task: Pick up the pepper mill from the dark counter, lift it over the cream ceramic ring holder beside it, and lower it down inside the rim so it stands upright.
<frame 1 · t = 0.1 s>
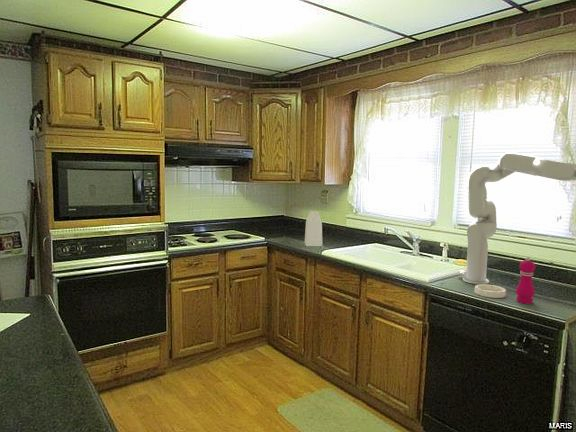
milk: (313, 246, 303), on the countertop
ring holder: (489, 293, 193), on the countertop
pepper mill: (524, 302, 182), on the countertop
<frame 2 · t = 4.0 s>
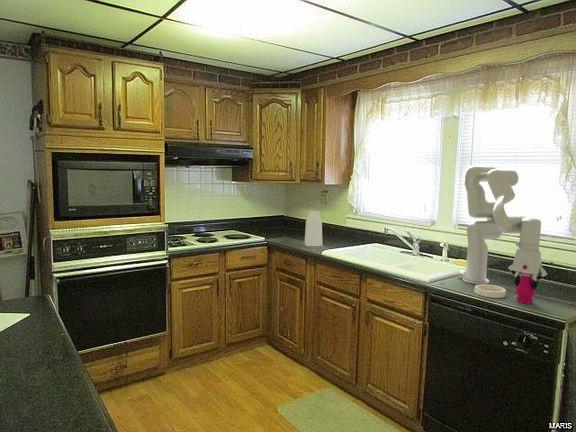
hand: (525, 287, 181), 7 cm above the countertop, tool pointing down, fingers closed on pepper mill, 5 cm apart
pepper mill: (524, 302, 182), on the countertop, touching gripper
everything else where it was.
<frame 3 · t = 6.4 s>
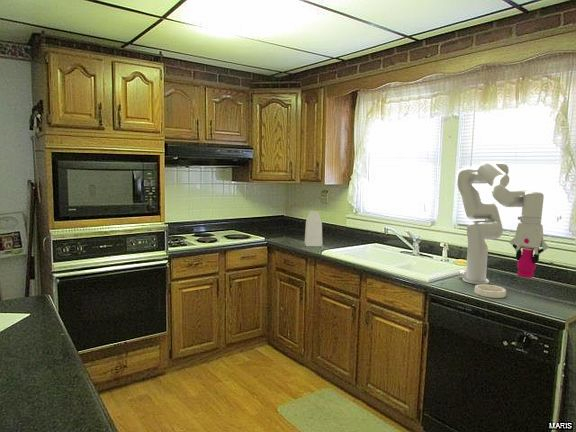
hand: (526, 261, 180), 18 cm above the countertop, tool pointing down, fingers closed on pepper mill, 5 cm apart
pepper mill: (525, 276, 181), point 11 cm above the countertop, touching gripper
everything else where it was.
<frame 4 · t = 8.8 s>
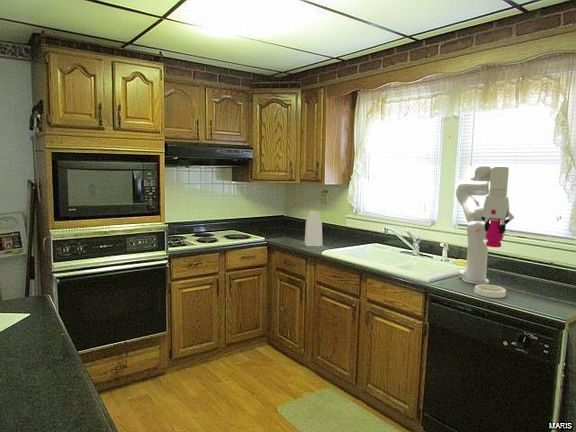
hand: (494, 231, 189), 29 cm above the countertop, tool pointing down, fingers closed on pepper mill, 5 cm apart
pepper mill: (493, 246, 190), point 22 cm above the countertop, touching gripper
everything else where it was.
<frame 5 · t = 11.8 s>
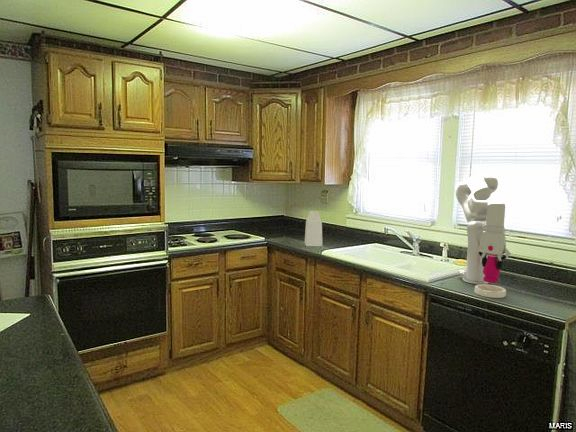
hand: (491, 267, 191), 13 cm above the countertop, tool pointing down, fingers closed on pepper mill, 5 cm apart
pepper mill: (490, 281, 192), point 6 cm above the countertop, touching gripper
everything else where it was.
when the fingers open (8 cm above the countertop, at t = 13.3 s): pepper mill drops 1 cm, resting on ring holder.
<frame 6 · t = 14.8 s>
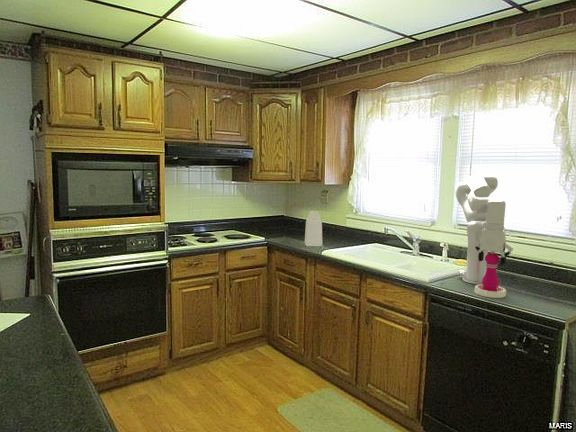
hand: (491, 262, 192), 14 cm above the countertop, tool pointing down, fingers open, 9 cm apart
pepper mill: (489, 292, 193), resting on ring holder
everything else where it was.
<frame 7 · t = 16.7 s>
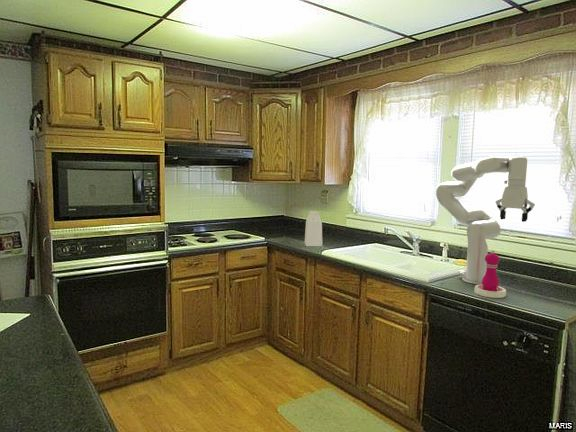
hand: (513, 220, 193), 34 cm above the countertop, tool pointing down, fingers open, 9 cm apart
nothing on the countertop moved.
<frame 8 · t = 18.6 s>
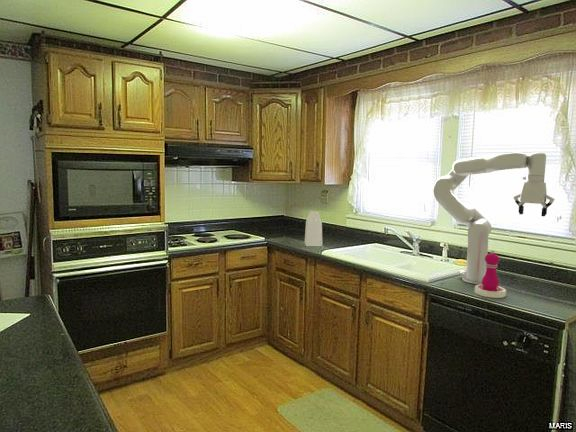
hand: (532, 215, 197), 36 cm above the countertop, tool pointing down, fingers open, 9 cm apart
nothing on the countertop moved.
at the end: pepper mill 0.1 cm off-centre on the ring holder, point 0.4 cm above the ring holder's base; pepper mill tilted 0°; the gripper is holding nothing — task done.
